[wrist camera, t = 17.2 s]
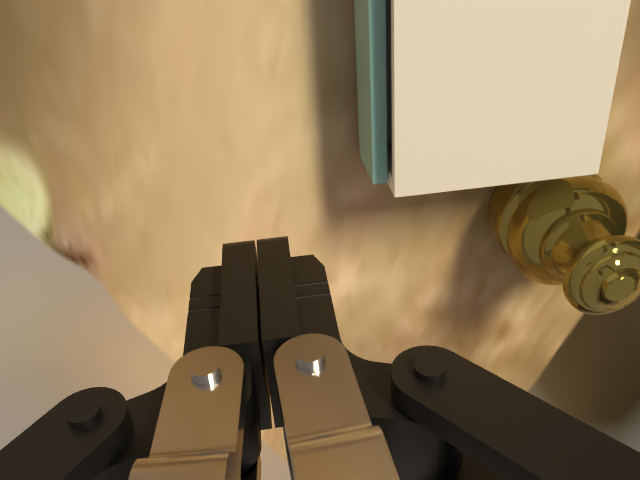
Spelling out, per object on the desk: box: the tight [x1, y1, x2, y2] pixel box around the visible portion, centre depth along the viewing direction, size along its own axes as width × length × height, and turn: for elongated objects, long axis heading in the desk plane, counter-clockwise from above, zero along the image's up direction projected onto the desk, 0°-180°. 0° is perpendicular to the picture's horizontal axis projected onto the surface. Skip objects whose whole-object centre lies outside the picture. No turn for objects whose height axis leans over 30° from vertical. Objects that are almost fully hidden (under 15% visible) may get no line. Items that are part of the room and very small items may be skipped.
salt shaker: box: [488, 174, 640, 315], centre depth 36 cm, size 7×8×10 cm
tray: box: [354, 0, 392, 185], centre depth 31 cm, size 14×11×4 cm
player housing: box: [387, 0, 631, 197], centre depth 31 cm, size 14×11×6 cm
